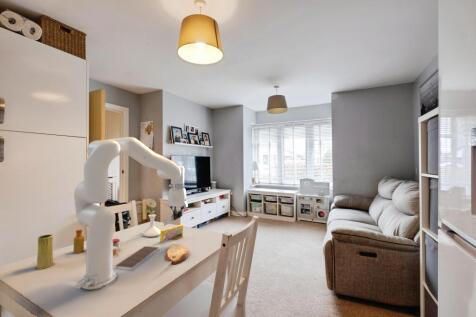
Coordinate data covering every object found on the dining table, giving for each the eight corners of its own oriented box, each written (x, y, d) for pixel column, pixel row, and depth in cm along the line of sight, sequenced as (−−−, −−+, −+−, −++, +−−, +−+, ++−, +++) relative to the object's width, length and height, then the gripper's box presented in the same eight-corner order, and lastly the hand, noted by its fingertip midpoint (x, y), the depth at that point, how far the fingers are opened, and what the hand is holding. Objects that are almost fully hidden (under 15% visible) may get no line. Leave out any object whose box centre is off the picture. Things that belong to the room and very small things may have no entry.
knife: (166, 226, 114) (166, 220, 114) (162, 225, 114) (162, 220, 114) (182, 215, 135) (182, 210, 135) (179, 215, 135) (179, 210, 135)
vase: (33, 269, 102) (33, 239, 102) (41, 263, 108) (41, 234, 108) (48, 268, 103) (49, 237, 103) (55, 262, 109) (56, 233, 109)
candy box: (161, 244, 133) (161, 230, 134) (159, 243, 135) (159, 230, 135) (183, 237, 146) (183, 224, 146) (181, 236, 148) (181, 224, 148)
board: (132, 270, 102) (132, 267, 102) (115, 268, 104) (115, 265, 104) (159, 249, 126) (159, 247, 126) (144, 248, 127) (144, 246, 127)
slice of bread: (176, 246, 131) (176, 239, 131) (199, 252, 122) (199, 246, 122) (150, 257, 116) (150, 250, 116) (174, 265, 107) (174, 258, 107)
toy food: (70, 253, 120) (71, 231, 120) (92, 244, 132) (92, 224, 132) (108, 260, 112) (109, 236, 112) (128, 250, 124) (128, 229, 124)
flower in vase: (164, 234, 151) (164, 198, 151) (150, 239, 141) (150, 200, 141) (152, 231, 158) (152, 196, 158) (137, 235, 148) (138, 198, 148)
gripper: (161, 187, 127) (161, 218, 127) (187, 187, 125) (187, 220, 125) (168, 185, 135) (167, 215, 135) (192, 186, 132) (192, 216, 132)
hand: (177, 217), depth 130 cm, fingers closed on knife, 2 cm apart
